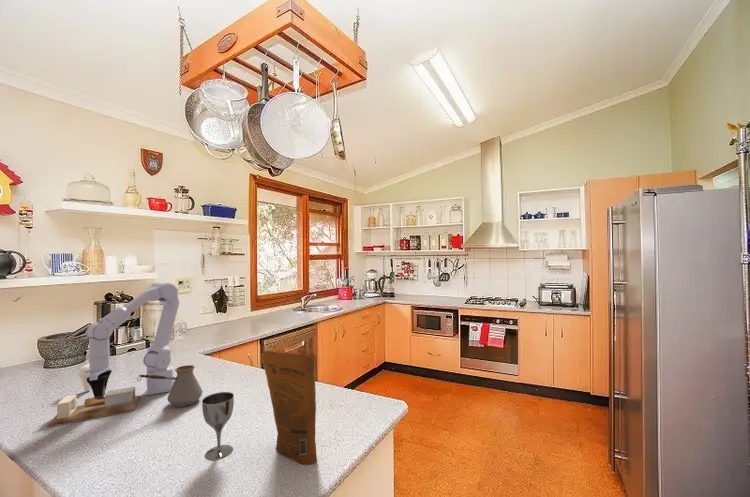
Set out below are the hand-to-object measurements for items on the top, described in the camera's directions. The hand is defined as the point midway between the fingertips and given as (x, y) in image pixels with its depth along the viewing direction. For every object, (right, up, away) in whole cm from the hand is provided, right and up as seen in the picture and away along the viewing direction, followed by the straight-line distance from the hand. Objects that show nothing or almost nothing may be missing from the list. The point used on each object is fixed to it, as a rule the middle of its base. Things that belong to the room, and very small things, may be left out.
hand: (99, 394), depth 119 cm
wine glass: (+56, -4, -27) cm, 62 cm away
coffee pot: (+25, -6, +1) cm, 26 cm away
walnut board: (0, -6, 0) cm, 6 cm away
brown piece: (+3, -4, +1) cm, 5 cm away
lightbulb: (-20, -7, +18) cm, 28 cm away
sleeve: (+6, -6, +3) cm, 8 cm away
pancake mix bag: (+77, -4, -29) cm, 82 cm away
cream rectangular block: (-8, -6, -4) cm, 11 cm away
